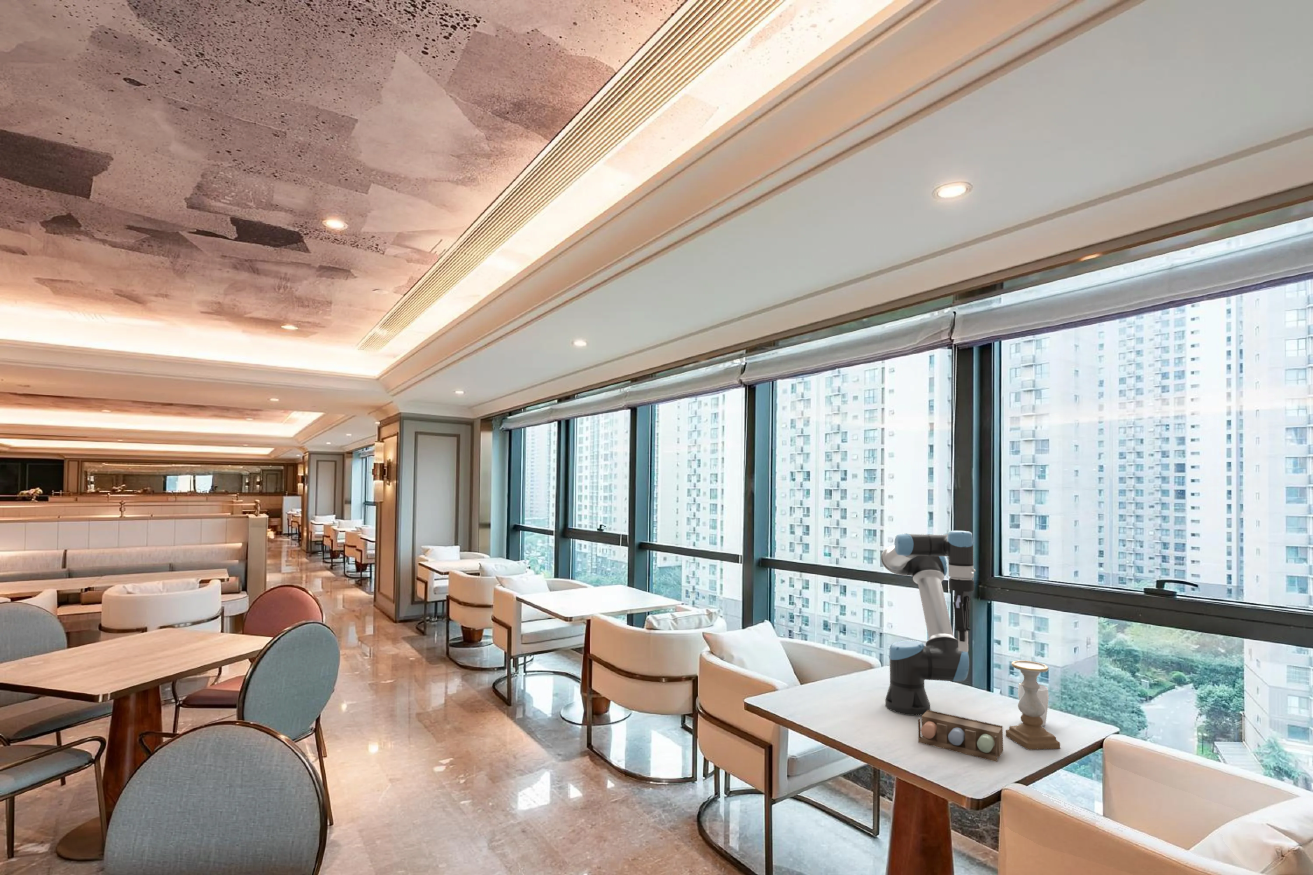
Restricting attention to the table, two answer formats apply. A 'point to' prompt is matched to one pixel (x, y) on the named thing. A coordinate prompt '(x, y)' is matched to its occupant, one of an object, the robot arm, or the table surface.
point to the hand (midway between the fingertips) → (963, 650)
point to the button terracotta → (929, 730)
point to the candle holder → (1031, 711)
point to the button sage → (985, 743)
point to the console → (970, 728)
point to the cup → (1043, 697)
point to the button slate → (956, 736)
